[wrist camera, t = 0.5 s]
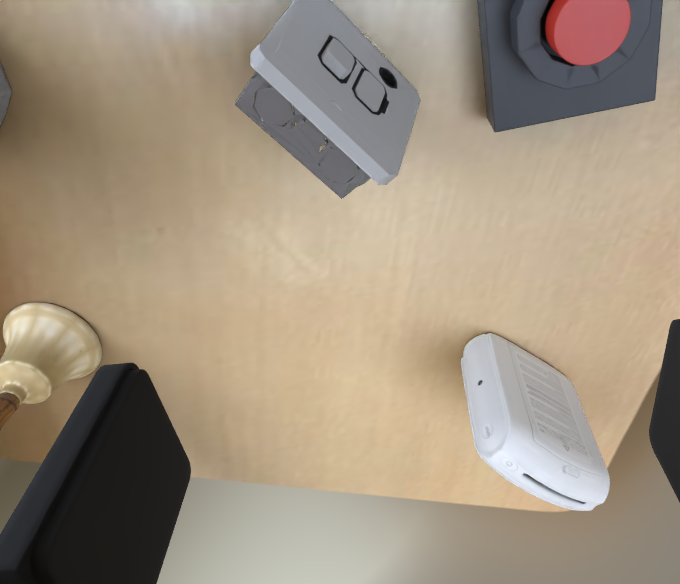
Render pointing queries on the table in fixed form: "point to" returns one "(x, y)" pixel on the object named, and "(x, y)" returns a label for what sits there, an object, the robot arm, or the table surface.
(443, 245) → the table surface
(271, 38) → the electrical switch
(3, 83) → the coffeepot
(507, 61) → the power housing
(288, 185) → the table surface
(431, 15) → the table surface
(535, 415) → the photo printer
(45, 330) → the hand bell
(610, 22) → the power button
